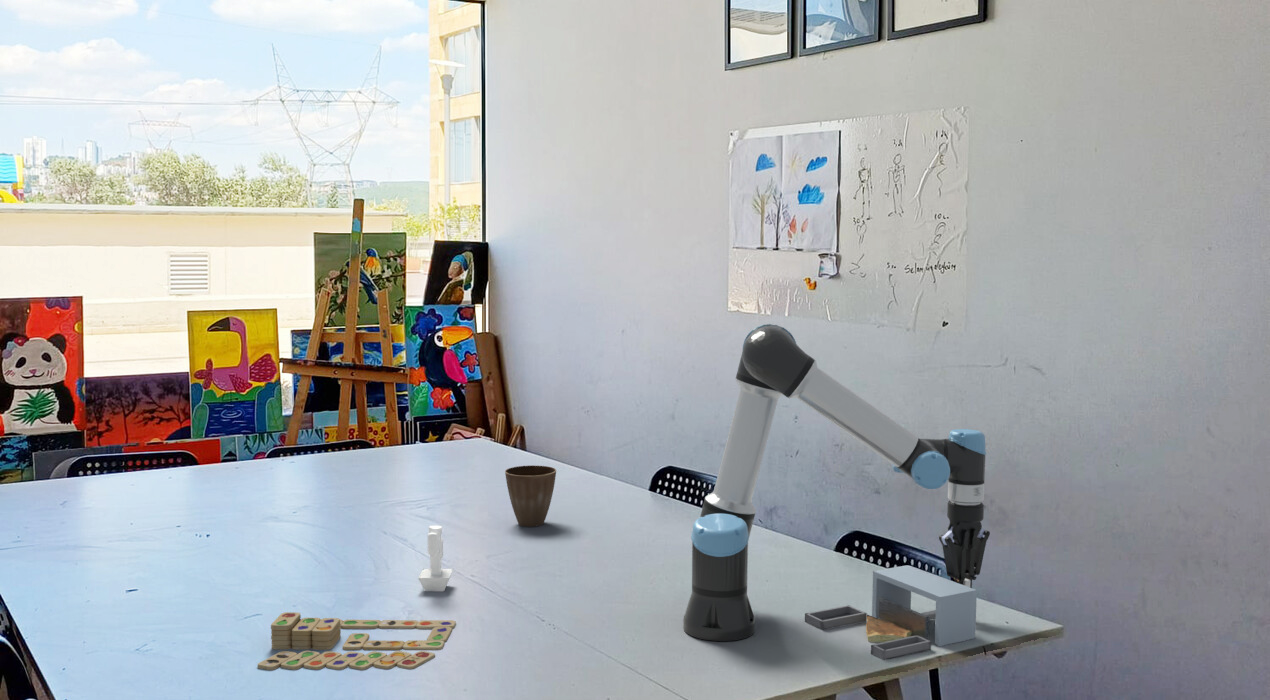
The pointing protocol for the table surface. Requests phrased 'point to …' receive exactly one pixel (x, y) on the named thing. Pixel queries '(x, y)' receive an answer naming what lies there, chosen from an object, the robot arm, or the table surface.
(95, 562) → the table surface
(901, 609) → the plunger
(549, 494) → the plant pot
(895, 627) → the pizza slice
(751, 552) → the table surface
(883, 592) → the tunnel
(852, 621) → the tray
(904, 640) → the tray
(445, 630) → the pile of dominoes
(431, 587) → the figurine
